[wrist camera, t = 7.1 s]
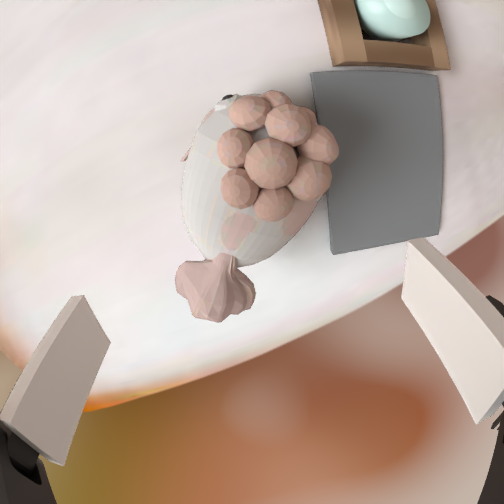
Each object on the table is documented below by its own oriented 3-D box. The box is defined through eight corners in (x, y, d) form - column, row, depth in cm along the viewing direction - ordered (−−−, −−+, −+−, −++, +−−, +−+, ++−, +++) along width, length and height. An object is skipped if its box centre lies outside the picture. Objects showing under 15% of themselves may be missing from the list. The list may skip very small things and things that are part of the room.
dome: (340, -15, 14) (359, -34, 10) (398, -8, 14) (423, -21, 10) (355, 41, 17) (378, 29, 13) (412, 45, 17) (440, 39, 13)
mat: (310, 73, 19) (312, 72, 18) (431, 75, 18) (436, 75, 18) (330, 250, 26) (333, 254, 26) (434, 231, 26) (438, 234, 25)
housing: (308, -32, 14) (315, -47, 11) (408, -20, 13) (424, -29, 11) (332, 66, 19) (345, 61, 16) (431, 70, 18) (450, 69, 15)
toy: (336, 130, 21) (394, 148, 12) (260, 278, 28) (267, 357, 19) (220, 78, 19) (202, 55, 10) (159, 241, 26) (122, 311, 17)
